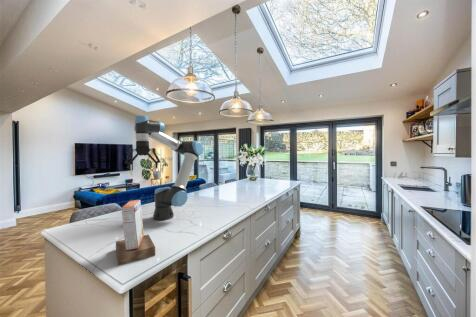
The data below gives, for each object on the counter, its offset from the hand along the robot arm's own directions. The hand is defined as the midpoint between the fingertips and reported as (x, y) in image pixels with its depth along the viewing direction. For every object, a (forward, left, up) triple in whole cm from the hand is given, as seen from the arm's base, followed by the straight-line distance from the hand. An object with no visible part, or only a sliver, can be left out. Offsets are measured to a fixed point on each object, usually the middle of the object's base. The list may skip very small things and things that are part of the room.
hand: (143, 174), depth 131 cm
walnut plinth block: (+7, +27, -37) cm, 47 cm away
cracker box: (+7, +27, -32) cm, 43 cm away
